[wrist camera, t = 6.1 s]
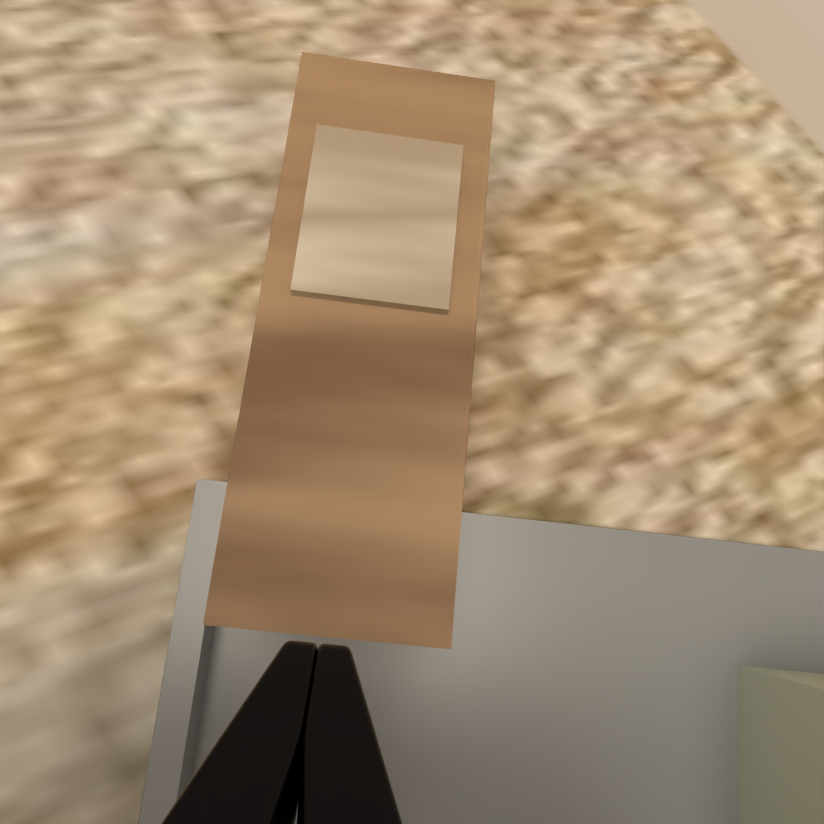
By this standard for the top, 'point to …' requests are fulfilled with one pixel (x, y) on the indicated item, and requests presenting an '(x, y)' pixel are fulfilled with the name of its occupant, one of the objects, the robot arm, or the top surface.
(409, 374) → the walnut box
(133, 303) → the top surface
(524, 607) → the parts tray
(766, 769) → the sage box
